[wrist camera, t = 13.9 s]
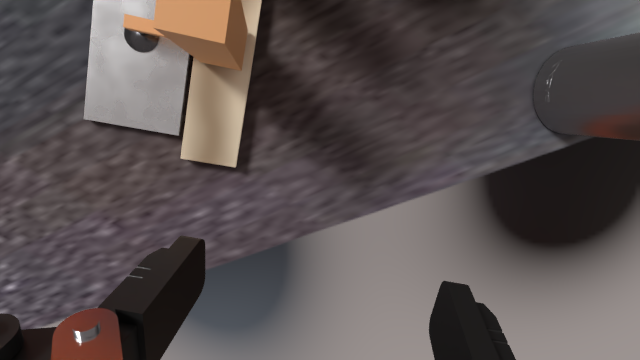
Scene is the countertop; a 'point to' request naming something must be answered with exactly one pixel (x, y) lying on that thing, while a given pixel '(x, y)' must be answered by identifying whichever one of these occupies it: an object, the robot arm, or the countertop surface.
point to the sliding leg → (199, 29)
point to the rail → (219, 103)
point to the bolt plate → (134, 71)
